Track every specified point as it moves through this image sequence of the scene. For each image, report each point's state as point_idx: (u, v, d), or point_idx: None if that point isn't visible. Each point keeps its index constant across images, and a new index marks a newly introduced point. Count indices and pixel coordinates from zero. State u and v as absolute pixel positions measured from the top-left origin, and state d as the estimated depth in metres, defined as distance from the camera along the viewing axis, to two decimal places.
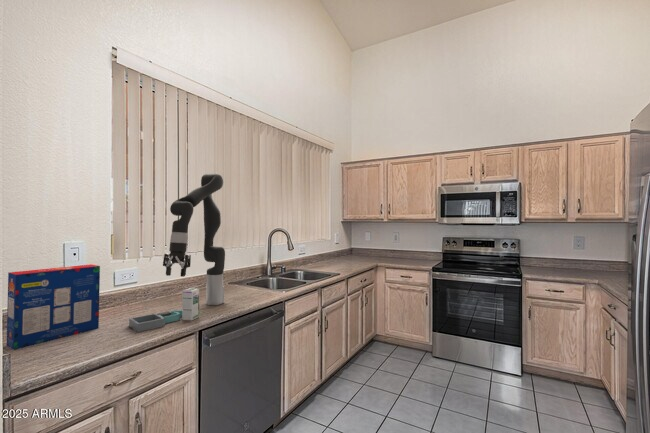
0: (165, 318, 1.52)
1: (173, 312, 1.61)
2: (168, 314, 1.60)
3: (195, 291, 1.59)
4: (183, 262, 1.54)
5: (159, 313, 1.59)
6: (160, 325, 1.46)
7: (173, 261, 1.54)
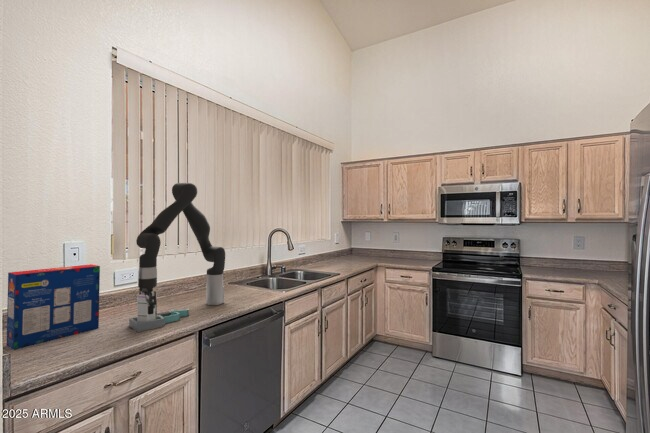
0: (165, 318, 1.52)
1: (173, 312, 1.61)
2: (168, 314, 1.60)
3: None
4: None
5: (159, 313, 1.59)
6: (160, 325, 1.46)
7: None
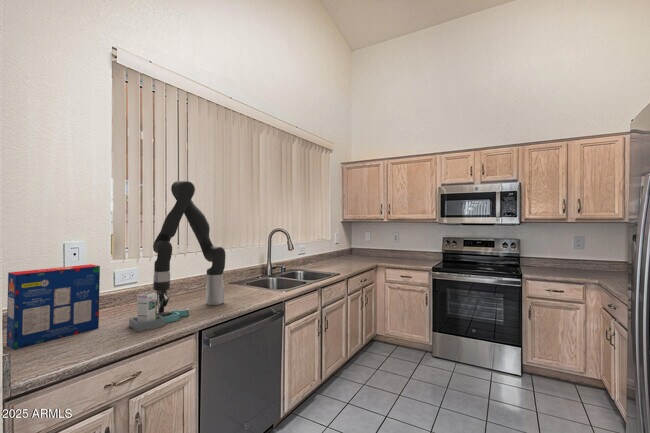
0: (165, 318, 1.52)
1: (173, 312, 1.61)
2: (168, 314, 1.59)
3: (152, 295, 1.47)
4: None
5: (159, 313, 1.59)
6: (160, 325, 1.46)
7: None
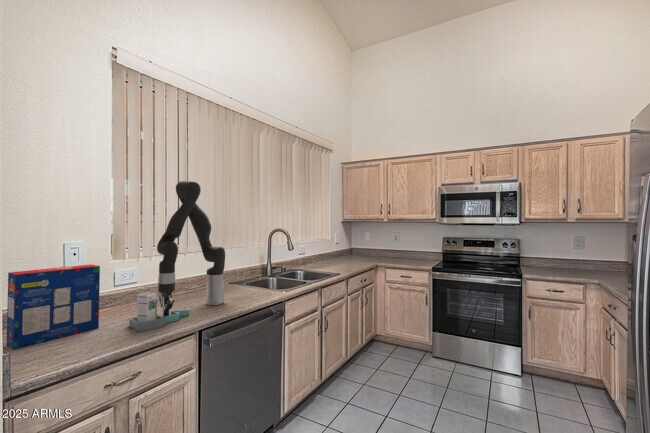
0: (165, 318, 1.52)
1: (173, 312, 1.61)
2: None
3: (152, 295, 1.47)
4: None
5: (163, 316, 1.55)
6: (160, 325, 1.46)
7: None
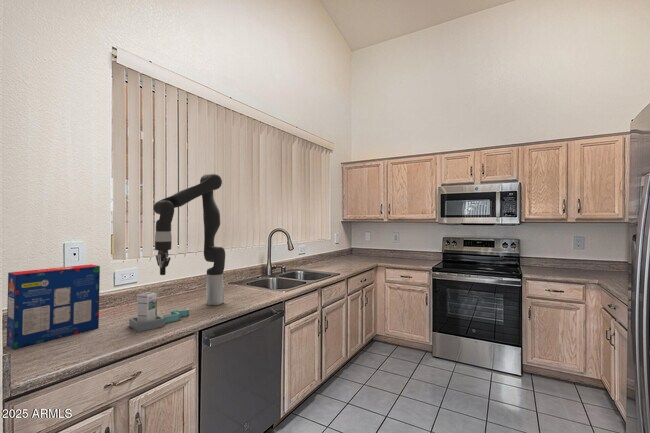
0: (165, 318, 1.52)
1: (173, 312, 1.61)
2: None
3: (152, 295, 1.47)
4: None
5: (164, 316, 1.54)
6: (160, 325, 1.46)
7: None
